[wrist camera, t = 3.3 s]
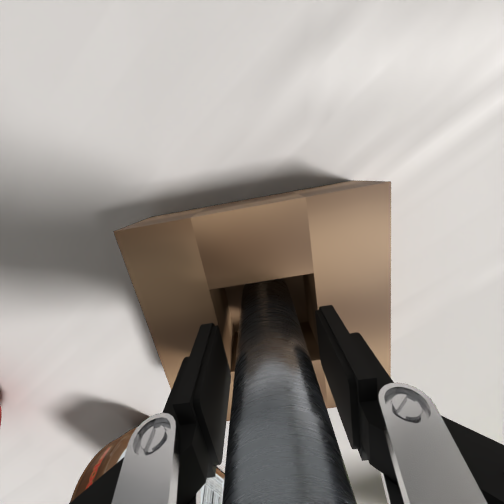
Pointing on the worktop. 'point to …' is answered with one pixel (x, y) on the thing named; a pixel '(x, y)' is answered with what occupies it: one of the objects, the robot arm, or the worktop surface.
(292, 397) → the metal rod
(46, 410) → the worktop surface
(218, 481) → the tin
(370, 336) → the rod stand
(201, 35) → the worktop surface
